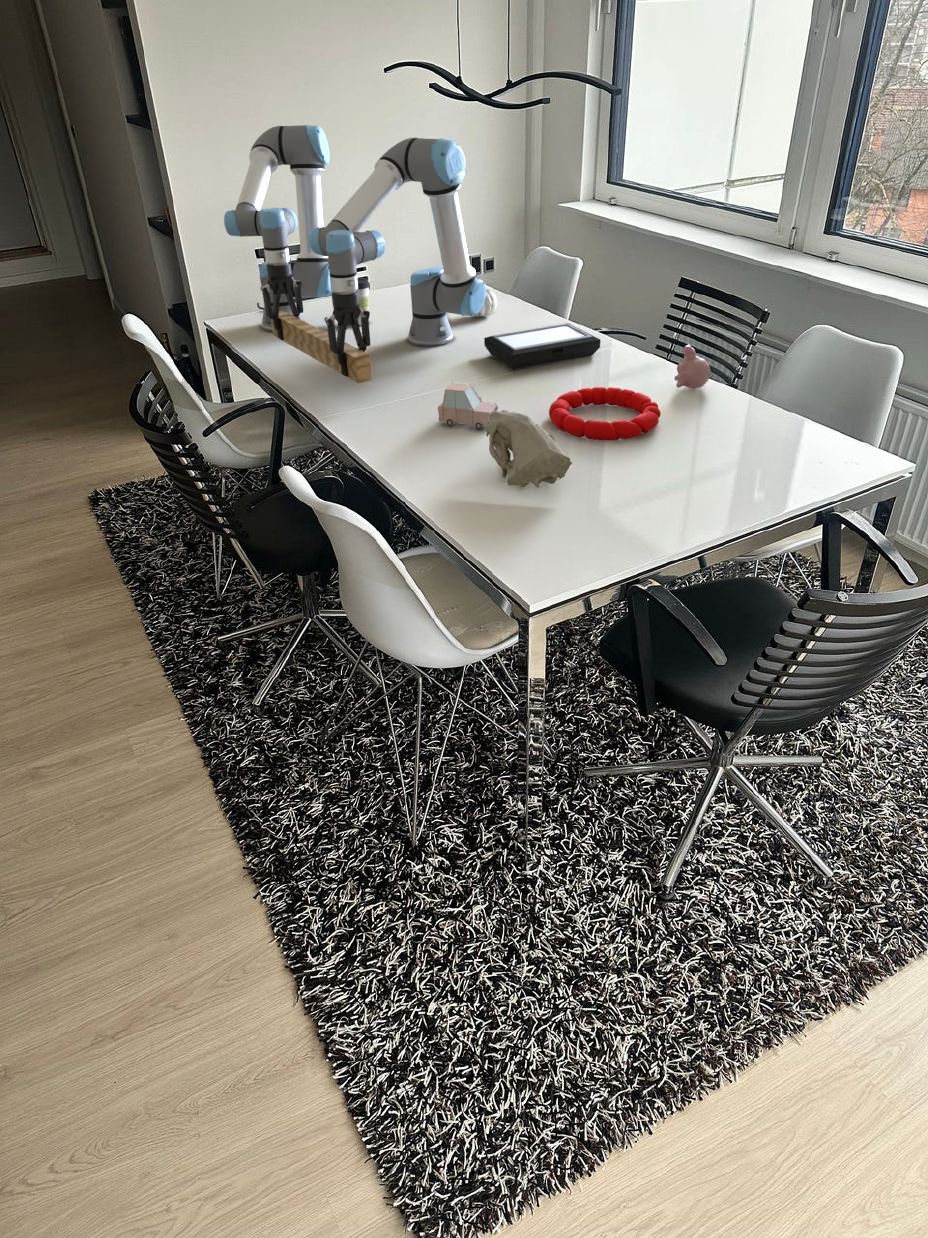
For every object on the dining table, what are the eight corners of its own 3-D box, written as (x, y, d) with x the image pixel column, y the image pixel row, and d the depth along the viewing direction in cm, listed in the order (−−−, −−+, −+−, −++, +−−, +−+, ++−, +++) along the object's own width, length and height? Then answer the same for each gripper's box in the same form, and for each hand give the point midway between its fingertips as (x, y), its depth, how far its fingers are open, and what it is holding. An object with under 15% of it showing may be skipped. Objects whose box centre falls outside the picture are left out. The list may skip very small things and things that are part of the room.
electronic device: (511, 352, 275) (484, 335, 290) (511, 372, 278) (484, 354, 294) (600, 336, 285) (569, 321, 300) (599, 356, 289) (569, 339, 304)
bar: (273, 335, 296) (269, 312, 292) (285, 332, 298) (282, 310, 294) (358, 383, 255) (355, 357, 251) (372, 380, 257) (369, 354, 253)
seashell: (458, 316, 331) (457, 288, 325) (493, 309, 336) (492, 282, 331) (471, 322, 323) (471, 294, 318) (507, 316, 329) (507, 288, 323)
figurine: (665, 387, 264) (669, 347, 257) (693, 380, 268) (698, 340, 261) (686, 396, 257) (690, 355, 250) (714, 388, 262) (720, 348, 255)
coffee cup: (372, 326, 323) (368, 283, 314) (345, 327, 323) (340, 284, 315) (374, 318, 331) (371, 276, 322) (348, 319, 331) (344, 277, 323)
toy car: (488, 432, 240) (488, 396, 234) (436, 426, 244) (434, 390, 239) (499, 419, 247) (499, 384, 241) (448, 413, 252) (447, 379, 246)
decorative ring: (589, 435, 224) (684, 402, 234) (527, 398, 247) (617, 369, 256) (589, 461, 229) (683, 427, 238) (529, 422, 251) (617, 393, 260)
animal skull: (496, 517, 219) (521, 479, 201) (463, 429, 225) (484, 384, 207) (557, 503, 225) (586, 465, 206) (523, 417, 231) (549, 373, 212)
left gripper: (256, 269, 272) (268, 345, 285) (308, 260, 280) (317, 334, 293) (247, 264, 277) (258, 339, 290) (298, 256, 285) (307, 329, 298)
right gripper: (322, 299, 241) (332, 383, 254) (379, 288, 249) (385, 370, 262) (310, 293, 246) (320, 376, 259) (366, 283, 254) (372, 363, 267)
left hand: (288, 337), depth 292 cm, fingers closed on bar, 5 cm apart
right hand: (353, 373), depth 261 cm, fingers closed on bar, 4 cm apart
